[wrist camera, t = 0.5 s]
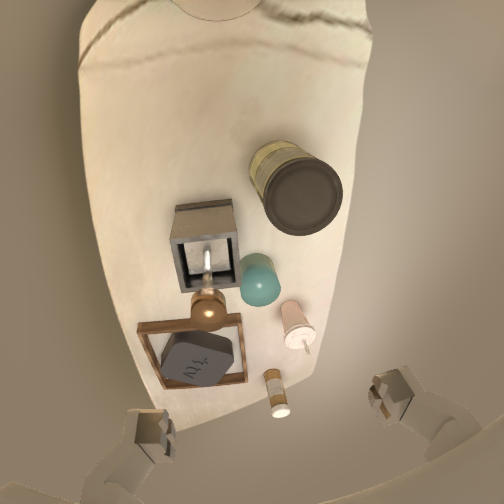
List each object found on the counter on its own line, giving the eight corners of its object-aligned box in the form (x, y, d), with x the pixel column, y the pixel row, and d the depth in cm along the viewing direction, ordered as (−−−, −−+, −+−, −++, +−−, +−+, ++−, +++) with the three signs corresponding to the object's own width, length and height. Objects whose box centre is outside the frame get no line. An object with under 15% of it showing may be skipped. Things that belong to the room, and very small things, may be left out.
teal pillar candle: (235, 255, 54) (239, 277, 48) (272, 251, 55) (280, 272, 49) (238, 285, 58) (242, 309, 52) (273, 281, 58) (280, 303, 52)
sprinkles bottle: (277, 377, 76) (287, 417, 65) (261, 378, 75) (270, 419, 64) (281, 368, 74) (292, 409, 62) (265, 368, 73) (274, 410, 61)
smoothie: (296, 318, 65) (314, 366, 53) (270, 316, 63) (284, 365, 51) (307, 297, 62) (328, 344, 50) (280, 293, 60) (297, 342, 48)
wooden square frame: (138, 322, 59) (136, 332, 57) (240, 312, 61) (241, 322, 59) (164, 380, 71) (163, 389, 68) (246, 373, 73) (248, 382, 70)
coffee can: (318, 153, 46) (356, 176, 34) (294, 206, 51) (321, 245, 39) (262, 130, 43) (283, 145, 31) (239, 188, 48) (251, 223, 36)
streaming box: (177, 322, 61) (176, 339, 57) (236, 339, 66) (238, 356, 62) (159, 359, 67) (157, 375, 62) (211, 373, 72) (212, 388, 67)
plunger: (183, 235, 41) (174, 300, 29) (225, 230, 42) (234, 293, 29) (189, 271, 44) (186, 340, 32) (229, 266, 45) (239, 335, 33)
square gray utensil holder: (176, 205, 48) (167, 238, 37) (231, 198, 48) (238, 230, 38) (184, 253, 52) (180, 294, 42) (235, 247, 53) (243, 287, 43)
